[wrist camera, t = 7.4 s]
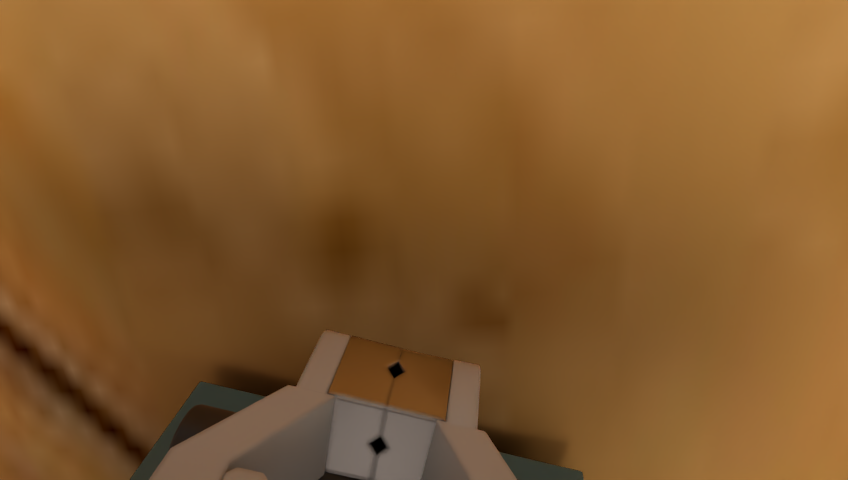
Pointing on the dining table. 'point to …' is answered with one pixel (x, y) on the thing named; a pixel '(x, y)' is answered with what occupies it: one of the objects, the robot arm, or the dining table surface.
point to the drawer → (222, 402)
